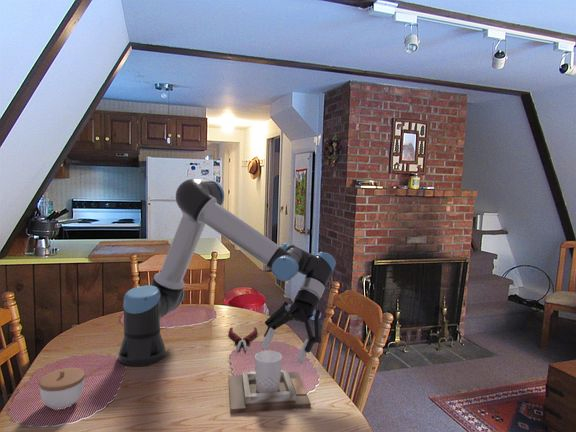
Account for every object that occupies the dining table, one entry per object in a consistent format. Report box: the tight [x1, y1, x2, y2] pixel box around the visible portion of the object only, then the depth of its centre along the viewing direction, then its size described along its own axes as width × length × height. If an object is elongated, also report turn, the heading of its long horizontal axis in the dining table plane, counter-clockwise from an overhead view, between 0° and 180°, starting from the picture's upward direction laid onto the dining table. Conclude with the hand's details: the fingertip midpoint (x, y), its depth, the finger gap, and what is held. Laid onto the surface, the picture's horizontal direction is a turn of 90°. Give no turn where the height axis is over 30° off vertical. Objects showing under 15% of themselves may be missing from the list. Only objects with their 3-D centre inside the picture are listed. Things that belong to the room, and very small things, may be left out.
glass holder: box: [228, 369, 312, 414], centre depth 118 cm, size 22×18×3 cm
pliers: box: [228, 327, 258, 352], centre depth 154 cm, size 12×20×3 cm, turn 5°
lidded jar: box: [38, 367, 85, 409], centre depth 109 cm, size 11×11×9 cm
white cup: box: [254, 350, 283, 393], centre depth 118 cm, size 8×8×10 cm
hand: (280, 354), depth 122 cm, fingers open, 13 cm apart
